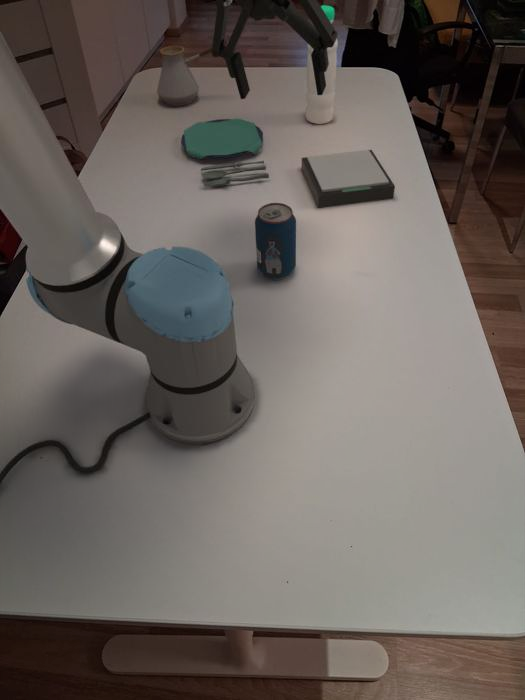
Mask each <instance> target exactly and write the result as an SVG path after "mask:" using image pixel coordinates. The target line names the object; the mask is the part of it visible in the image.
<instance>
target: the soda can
mask: <svg viewBox="0 0 525 700" xmlns="http://www.w3.org/2000/svg"><path fill="white" fill-rule="evenodd" d="M254 231H255V233H254V234H255V251H256V252H255V253H256V266H257V269H258V271H259V272H260V273H261V274H262V276H264V277H265V278H267V279H270V280H277V281H278V280H283V279H286V278H287V277H289V276H290V275H291V274H292V273H293V271H294V270H295V268H296V264H297V219H296V217H295V215H294V211H293V209H292V208H291V206H289V205H287V204H286V203H282V202H270V203H267V204H264V205H263V206H261V207H260V208H259V209H258V211H257V215H256V217H255V219H254Z"/></svg>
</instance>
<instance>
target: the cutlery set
mask: <svg viewBox="0 0 525 700" xmlns="http://www.w3.org/2000/svg"><path fill="white" fill-rule="evenodd" d="M263 140H264V132H263V130H262V129H261V128H260V127H259V126H257V125H256V123H255V122H252V121H250V120H246V119H243V118H222V119H219V118H218V119H214V120H208V121H207V120H206V121H199V122H195V123H194V124H192V125H191V126H189V127H187V128H185V129H184V130H183V134H182V136H181V139H180V143H181V146H182V148H183V149H184V150H185V151H186V152H187V154H188V155H189V156H190V157H194V158H196V159H199V160H202V159H203V158H204V159H205V158H206V159H216V160H219V159H230V158H235V157H240V156H242V155H245V154H248V153H250V152H251V153H253V154H254V155H257V154H258V153H259V151H260V150H261V149H262V145H263V143H262V142H263ZM254 164H256V165H257V164H262V165H259V166H253V167H246V168H243V169H238V170H233V171H229V172H228V171H226V170H222V169H228V168H233V169H235V168H236V167H237V168H240V167H242V166H246V165H254ZM266 170H267V166H266V164H265V161H264V160H260V161H251V162H239V161H238V162H232V164H219V165H213V166H212V165H211V166H210V165H209V166H204V167H202V168H200V171H201V172H202V171H205V172H203V173H201V177H202V178H204V179H208V180H211V181H203V182H202V184H203V187H206V188H207V187H213V186H214V187H215V186H216V187H217V186H219V187H220V186H221V187H222V186H228V185H230V184H231V183H233V182H248V181H255V180H256V181H257V180H261V179H269V178H270V174H269V173H268V172H266V173H265V172H264V173H260V174H256V175H250V176H243V177H233V178H230V177H229V175H233V174H234V175H235V174H240V173H246V172H255V171H266ZM225 176H228V177H225Z"/></svg>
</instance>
